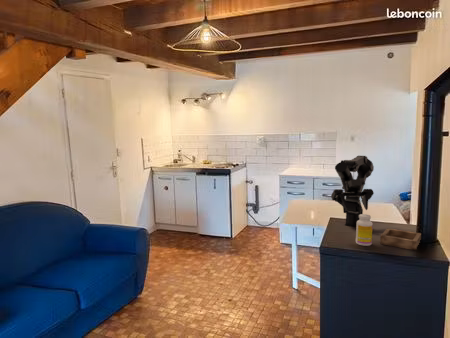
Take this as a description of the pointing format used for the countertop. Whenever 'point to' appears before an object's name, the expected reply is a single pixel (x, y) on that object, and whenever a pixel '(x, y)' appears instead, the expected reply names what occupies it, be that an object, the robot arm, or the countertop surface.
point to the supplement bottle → (364, 230)
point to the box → (400, 239)
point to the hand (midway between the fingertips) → (357, 209)
